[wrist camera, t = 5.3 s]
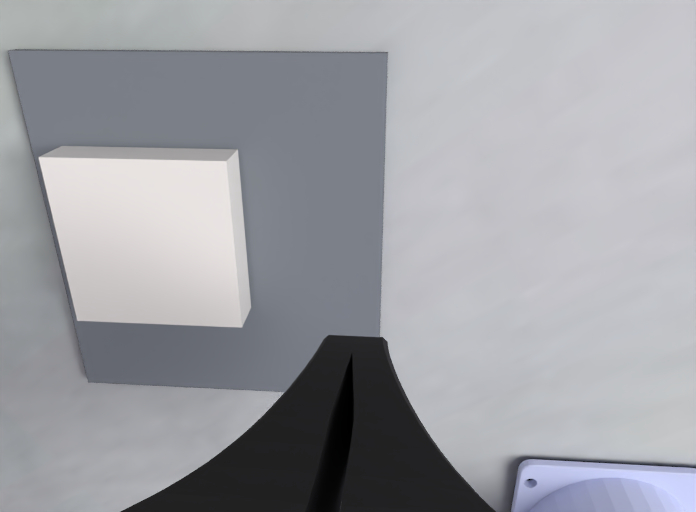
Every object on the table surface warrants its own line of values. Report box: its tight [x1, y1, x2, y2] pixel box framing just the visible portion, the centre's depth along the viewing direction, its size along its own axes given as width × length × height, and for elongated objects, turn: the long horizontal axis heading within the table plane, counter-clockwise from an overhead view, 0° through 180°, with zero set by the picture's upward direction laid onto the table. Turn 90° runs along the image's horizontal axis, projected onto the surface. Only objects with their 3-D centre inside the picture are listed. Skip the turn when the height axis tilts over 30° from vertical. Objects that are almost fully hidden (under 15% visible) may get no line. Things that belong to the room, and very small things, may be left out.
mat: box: [8, 49, 388, 392], centre depth 21 cm, size 13×12×1 cm
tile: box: [38, 146, 251, 328], centre depth 20 cm, size 6×2×6 cm
